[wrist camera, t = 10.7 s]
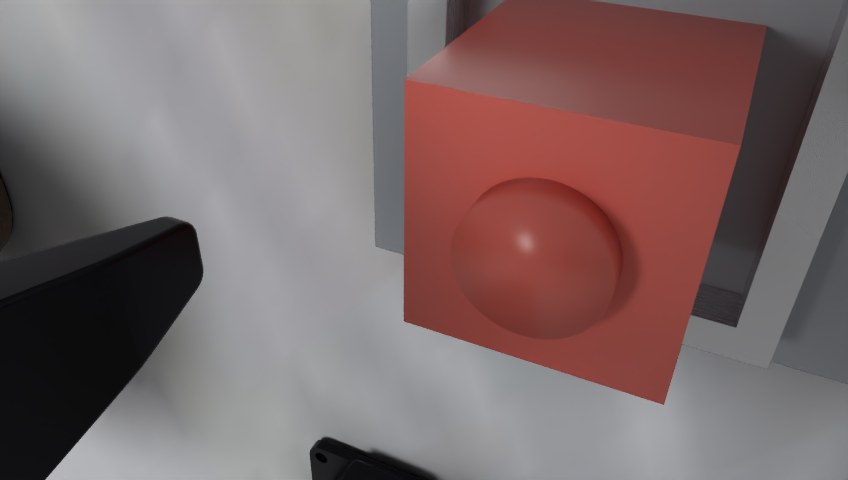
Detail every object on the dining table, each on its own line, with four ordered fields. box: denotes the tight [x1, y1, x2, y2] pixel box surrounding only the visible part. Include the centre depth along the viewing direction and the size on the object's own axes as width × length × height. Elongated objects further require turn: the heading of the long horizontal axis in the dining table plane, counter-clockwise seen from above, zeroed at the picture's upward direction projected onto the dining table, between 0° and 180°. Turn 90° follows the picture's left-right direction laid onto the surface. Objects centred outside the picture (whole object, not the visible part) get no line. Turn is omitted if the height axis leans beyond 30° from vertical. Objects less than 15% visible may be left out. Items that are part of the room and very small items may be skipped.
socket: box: [407, 0, 848, 369], centre depth 14 cm, size 8×8×1 cm
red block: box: [404, 0, 767, 405], centre depth 12 cm, size 4×4×6 cm
